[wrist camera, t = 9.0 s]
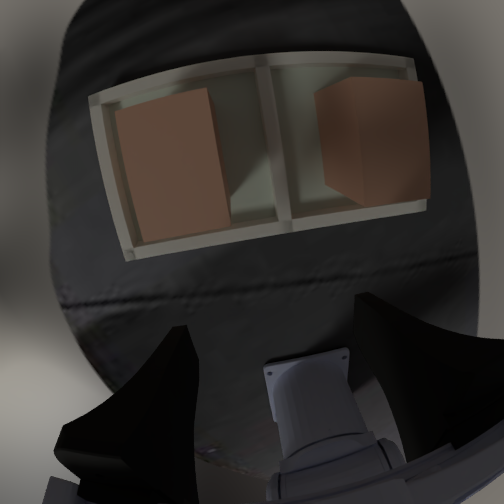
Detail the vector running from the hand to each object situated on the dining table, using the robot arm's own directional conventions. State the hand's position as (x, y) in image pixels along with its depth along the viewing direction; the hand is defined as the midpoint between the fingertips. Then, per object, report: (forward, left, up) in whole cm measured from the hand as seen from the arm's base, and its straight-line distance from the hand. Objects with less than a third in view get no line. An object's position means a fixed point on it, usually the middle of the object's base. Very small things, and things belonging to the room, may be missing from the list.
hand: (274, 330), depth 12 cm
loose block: (+7, -7, -8) cm, 13 cm away
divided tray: (+7, -2, -9) cm, 12 cm away
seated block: (+7, +3, -8) cm, 11 cm away
